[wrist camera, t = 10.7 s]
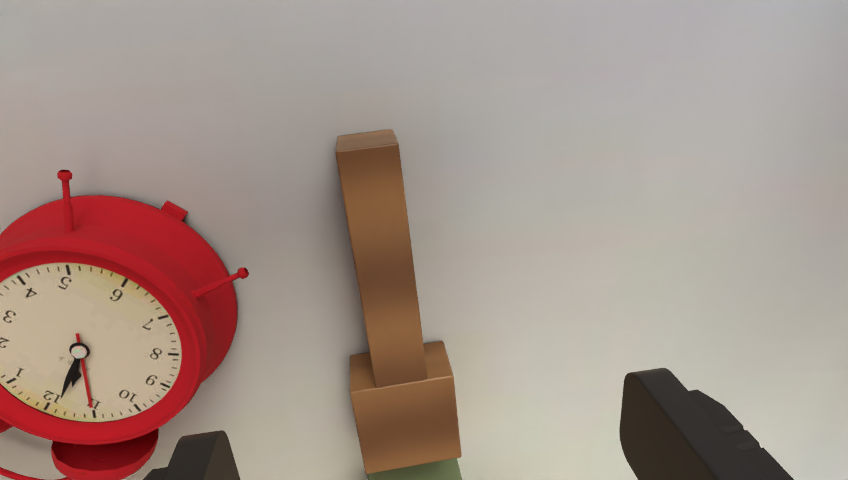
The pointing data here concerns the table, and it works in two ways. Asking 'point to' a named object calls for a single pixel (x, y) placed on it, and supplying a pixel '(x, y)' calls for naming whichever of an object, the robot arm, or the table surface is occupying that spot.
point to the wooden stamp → (392, 319)
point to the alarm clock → (106, 327)
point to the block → (422, 472)
